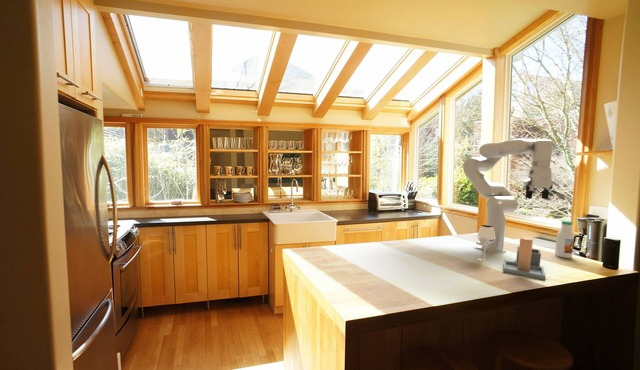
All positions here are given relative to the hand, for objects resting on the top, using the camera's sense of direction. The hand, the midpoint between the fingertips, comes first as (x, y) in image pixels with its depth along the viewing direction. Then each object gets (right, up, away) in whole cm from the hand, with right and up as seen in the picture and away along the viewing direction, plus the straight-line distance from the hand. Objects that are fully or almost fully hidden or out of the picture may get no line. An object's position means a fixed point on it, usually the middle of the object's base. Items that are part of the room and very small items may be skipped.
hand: (536, 198), depth 164 cm
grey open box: (-5, -33, -1) cm, 34 cm away
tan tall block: (-14, -33, -12) cm, 38 cm away
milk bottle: (+27, -34, +18) cm, 47 cm away
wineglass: (-25, -32, +3) cm, 41 cm away
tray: (-14, -34, -12) cm, 38 cm away
